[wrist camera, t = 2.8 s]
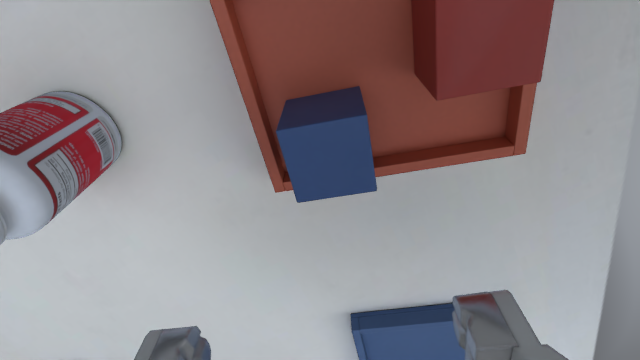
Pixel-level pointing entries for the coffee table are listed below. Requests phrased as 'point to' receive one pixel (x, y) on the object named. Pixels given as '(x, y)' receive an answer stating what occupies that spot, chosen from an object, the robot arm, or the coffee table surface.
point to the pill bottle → (50, 158)
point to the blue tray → (407, 334)
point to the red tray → (362, 83)
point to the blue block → (327, 145)
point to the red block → (479, 44)
